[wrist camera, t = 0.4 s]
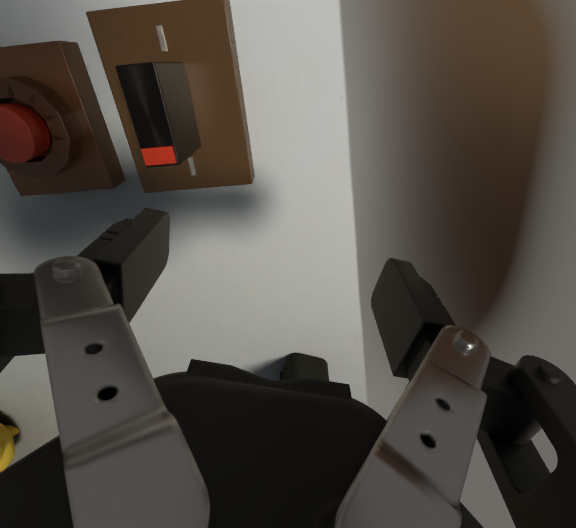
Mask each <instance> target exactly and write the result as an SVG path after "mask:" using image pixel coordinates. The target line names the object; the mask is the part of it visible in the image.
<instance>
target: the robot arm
mask: <svg viewBox="0 0 576 528" xmlns="http://www.w3.org/2000/svg"><path fill="white" fill-rule="evenodd" d="M169 232H170V216H169V213H168V212H163V211H158V210H154V209H149V208H145V209H144V210H143V211H142V212H141V213H140V214H138V215H137V216H136V217H135V218H134V219H128V218H127V219H125V220H122V221H119V222H117V223H114V224H113V225H112V226H110V227H109V228H108V229H107V230H106V232H104V233H103V234H101V235H100V236H99V238H98V239H96V240H95V241H93V242H92V243H91V244H90V245H89V246H88V247H87V248H85V249H84V250H83V251H82V252H81V253H80V254H79V255H77V256H64V257H58V258H54V259H50V260H48V261H45V262H43V263H42V264H40V265H39V266H37V267H36V269H35V270H34V272H33V273H29V274H0V373H1V371H2V370H3V369H4V368H5V367H6V366H7V364H8V363H9V362H10V361H11V360H12V359H13V357H14V356H20V355H32V354H44V353H45V354H46V360H47V366H48V372H49V378H50V384H51V390H52V396H53V401H54V407H55V413H56V419H57V425H58V431H59V436H57V437H55V438H54V439H52V440H51V441H49V442H47V443H46V444H44V445H43V446H41V447H40V448H38V449H36V450H35V451H33V452H32V453H30V454H28V455H27V456H25V457H24V458H22V459H20V460H19V461H17V462H16V463H14V464H13V465H11V466H9V467H8V468H6V469H5V470H3V471H1V472H0V528H483V527H482V525H481V524H480V523H479V522H478V521H477V520H476V519H475V518H474V517H473V515H472V514H471V513H470V512H469V511H468V510H467V509H466V508H465V507H464V505H463V504H462V503H461V502H460V498H461V494H462V490H463V486H464V483H465V479H466V475H467V471H468V467H469V464H470V460H471V456H472V452H473V448H474V445H475V441H476V437H477V439H478V441H479V444H480V446H481V448H482V451H483V453H484V455H485V457H486V460H487V462H488V464H489V467H490V469H491V471H492V474H493V476H494V478H495V481H496V483H497V485H498V487H499V489H500V492H501V494H502V496H503V499H504V501H505V503H506V506H507V508H508V510H509V512H510V515H511V517H512V520H513V522H514V524H515V526H516V528H576V385H575V384H574V382H573V381H572V380H571V379H570V378H569V377H568V376H567V375H566V374H565V373H564V372H563V371H561V370H560V369H559V368H558V367H556V366H554V365H553V364H551V363H549V362H548V361H546V360H544V359H541V358H538V357H535V356H530V355H526V356H523V357H522V358H521V359H520V360H519V361H518V362H517V364H516V365H515V366H514V365H511V364H508V363H506V362H504V361H501V360H499V359H496V358H494V357H491V353H490V350H489V348H488V346H487V345H486V344H485V343H484V342H483V341H482V340H481V339H480V338H479V337H478V336H476V335H475V334H473V333H472V332H470V331H468V330H466V329H464V328H461V327H457V326H456V325H455V323H454V321H453V320H452V318H451V317H450V315H449V313H448V312H447V310H446V309H445V307H444V306H443V305H442V302H441V301H440V299H439V298H438V297H437V294H436V293H435V291H434V289H433V288H432V286H431V285H430V284H429V283H427V282H426V281H425V280H424V279H423V278H422V277H419V275H418V273H417V272H416V270H415V268H414V267H413V265H412V263H411V262H409V261H403V260H398V259H393V258H389V259H388V260H387V261H386V263H385V265H384V268H383V270H382V272H381V275H380V277H379V279H378V281H377V284H376V286H375V288H374V291H373V294H372V298H371V307H372V310H373V313H374V317H375V320H376V323H377V326H378V329H379V332H380V336H381V339H382V342H383V345H384V348H385V351H386V354H387V358H388V361H389V363H390V367H391V370H392V373H393V376H396V377H402V378H408V380H409V383H408V385H407V387H406V388H405V390H404V392H403V393H402V395H401V397H400V398H399V400H398V402H397V403H396V405H395V407H394V409H393V410H392V412H391V413H390V415H389V417H388V419H387V420H385V419H384V418H383V417H382V416H381V415H379V414H378V413H377V412H376V411H374V410H373V409H371V408H370V407H368V406H367V405H365V404H363V403H361V402H359V401H358V400H355V399H353V398H351V392H350V386H349V384H343V383H337V382H331V381H324V380H318V379H312V378H311V379H296V380H280V381H271V380H267V379H265V378H262V377H260V376H257V375H255V374H252V373H249V372H247V371H244V370H242V369H239V368H237V367H234V366H231V365H225V364H219V363H213V362H207V361H200V360H194V359H191V361H190V364H189V367H188V370H187V372H177V373H171V374H167V375H163V376H159V377H157V378H154V379H153V377H152V375H151V373H150V370H149V368H148V366H147V363H146V361H145V359H144V356H143V354H142V352H141V350H140V347H139V345H138V343H137V340H136V338H135V336H134V333H133V331H132V329H131V326H130V324H129V323H130V322H131V320H132V318H133V317H134V315H135V314H136V312H137V311H138V309H139V307H140V306H141V304H142V303H143V301H144V300H145V298H146V297H147V295H148V293H149V292H150V290H151V289H152V287H153V286H154V284H155V282H156V281H157V279H158V278H159V276H160V275H161V273H162V271H163V270H164V268H165V266H166V264H167V260H168V255H169ZM540 429H543V430H544V432H545V433H546V435H547V437H548V438H549V440H550V441H551V443H552V445H553V446H554V448H555V450H556V453H557V457H558V463H557V467H556V469H555V470H554V471H553V472H552V473H550V472H549V470H548V468H547V467H546V465H545V463H544V461H543V460H542V458H541V456H540V454H539V453H538V451H537V449H536V448H535V446H534V444H533V442H532V441H531V438H532V437H533V436H534V435H535V434H536V433H537V432H538V431H539V430H540Z"/></svg>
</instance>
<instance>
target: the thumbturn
mask: <svg viewBox="0 0 576 528" xmlns="http://www.w3.org/2000/svg"><path fill="white" fill-rule="evenodd" d="M115 68H116V71H117V74H118V77H119V81H120V84H121V87H122V90H123V94H124V97H125V100H126V103H127V106H128V110H129V113H130V116H131V119H132V123H133V126H134V129H135V132H136V135H137V139H138V142H139V145H140V148H141V152H142V155H143V158H144V161H145V165H146V167H147V168H152V167H163V166H174V165H180V164H182V163H183V162H184V161H185V160H186V159H187V158H188V157H190V156H191V155H192V154H193V153H194V152H195V151H196V150H198V149H199V148H200V147H201V141H200V137H199V132H198V128H197V123H196V118H195V114H194V109H193V105H192V100H191V95H190V91H189V86H188V82H187V77H186V72H185V68H184V63H183V62H144V63H134V64H125V65H117V66H115Z"/></svg>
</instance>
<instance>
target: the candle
mask: <svg viewBox="0 0 576 528" xmlns="http://www.w3.org/2000/svg"><path fill="white" fill-rule="evenodd" d="M311 378H312V379H318V380H324V381H329V375H328V366H327V362H326V361H325V360H324V359H321V358H317V357H312V356H308V355H304V354H299V353H293V354H291V355H289V356H288V357H287V363H286V365H285V367H284V370H283V372H281V373H280V380H296V379H311Z"/></svg>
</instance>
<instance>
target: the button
mask: <svg viewBox="0 0 576 528" xmlns="http://www.w3.org/2000/svg"><path fill="white" fill-rule="evenodd" d="M49 146H50V134H49V130H48V128H47V126H46V124H45V123H44V121H43V120H42V118H41V117H40V116H39V115H38V114H37V113H36V112H34V111H33V110H32V109H30V108H29V107H27V106H25V105H22V104H19V103H3V104H0V158H1V159H4V160H6V161H9V162H14V163H21V162H25V161H28V160H31V159H33V158H36V157H39V156H42V155H43V154H45V153H46V152H47V151H48V149H49Z"/></svg>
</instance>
